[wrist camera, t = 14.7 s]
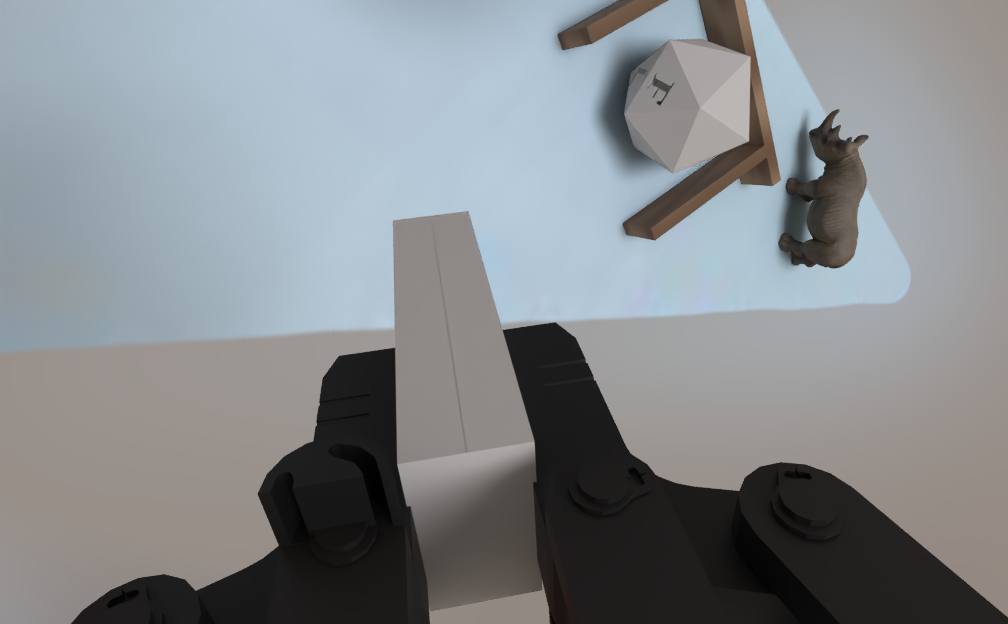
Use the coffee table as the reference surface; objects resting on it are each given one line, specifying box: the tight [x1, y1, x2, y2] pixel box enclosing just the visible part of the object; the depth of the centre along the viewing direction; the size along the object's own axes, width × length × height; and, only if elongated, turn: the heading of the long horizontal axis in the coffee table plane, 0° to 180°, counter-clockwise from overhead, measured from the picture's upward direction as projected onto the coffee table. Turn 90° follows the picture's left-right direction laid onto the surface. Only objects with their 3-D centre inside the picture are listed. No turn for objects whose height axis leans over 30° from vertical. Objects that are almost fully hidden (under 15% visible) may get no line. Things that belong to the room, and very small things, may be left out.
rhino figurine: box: [779, 109, 869, 268], centre depth 52 cm, size 4×14×6 cm, turn 2°
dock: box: [558, 0, 781, 240], centre depth 43 cm, size 20×14×3 cm
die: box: [624, 39, 751, 173], centre depth 41 cm, size 8×9×10 cm
